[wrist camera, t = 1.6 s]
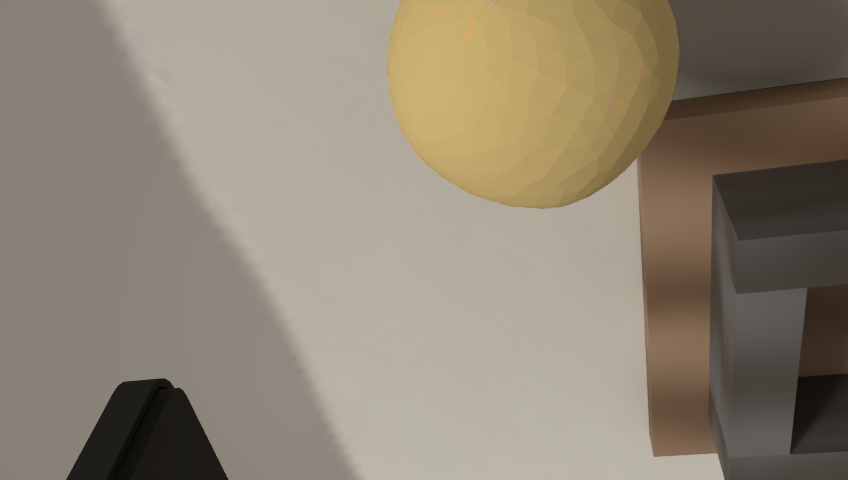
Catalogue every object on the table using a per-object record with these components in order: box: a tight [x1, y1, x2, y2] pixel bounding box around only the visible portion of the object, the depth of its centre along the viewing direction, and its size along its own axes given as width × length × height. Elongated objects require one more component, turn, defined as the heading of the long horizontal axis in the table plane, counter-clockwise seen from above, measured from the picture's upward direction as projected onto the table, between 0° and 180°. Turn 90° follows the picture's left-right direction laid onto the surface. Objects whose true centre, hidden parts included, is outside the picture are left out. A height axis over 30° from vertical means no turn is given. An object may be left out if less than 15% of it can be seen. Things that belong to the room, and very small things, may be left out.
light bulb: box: [387, 0, 679, 209], centre depth 20 cm, size 6×6×10 cm
